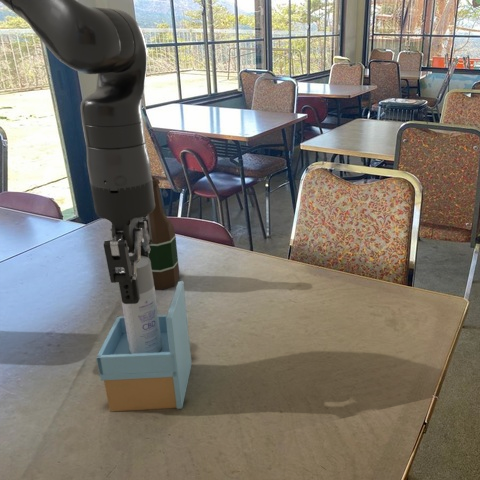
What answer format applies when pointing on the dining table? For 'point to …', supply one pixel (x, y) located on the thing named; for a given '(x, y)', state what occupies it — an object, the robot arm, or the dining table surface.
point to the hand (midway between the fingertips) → (137, 289)
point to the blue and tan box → (148, 364)
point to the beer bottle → (162, 245)
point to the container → (143, 314)
